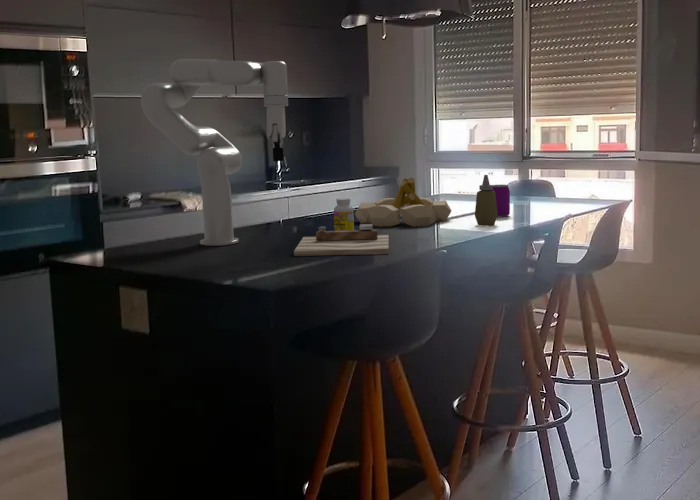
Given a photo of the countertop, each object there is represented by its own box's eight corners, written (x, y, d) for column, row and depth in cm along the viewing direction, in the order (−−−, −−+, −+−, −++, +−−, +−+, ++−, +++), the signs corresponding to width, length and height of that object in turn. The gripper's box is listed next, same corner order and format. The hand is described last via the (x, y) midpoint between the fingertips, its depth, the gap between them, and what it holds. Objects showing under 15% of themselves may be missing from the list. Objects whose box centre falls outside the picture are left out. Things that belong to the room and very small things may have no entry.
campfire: (421, 230, 292) (420, 182, 289) (341, 225, 310) (339, 180, 308) (464, 218, 321) (463, 174, 318) (388, 214, 339) (387, 172, 336)
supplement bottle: (330, 236, 281) (329, 199, 279) (343, 234, 286) (342, 197, 284) (344, 238, 277) (343, 200, 275) (358, 235, 282) (357, 198, 279)
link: (315, 240, 262) (315, 232, 261) (316, 238, 266) (316, 231, 265) (377, 239, 261) (377, 231, 261) (377, 237, 265) (377, 229, 265)
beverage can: (487, 217, 319) (487, 186, 317) (492, 214, 326) (492, 184, 324) (507, 217, 316) (507, 186, 314) (511, 215, 323) (511, 184, 321)
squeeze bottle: (487, 227, 292) (487, 176, 289) (470, 225, 298) (469, 175, 295) (502, 224, 297) (502, 174, 294) (484, 223, 303) (484, 173, 300)
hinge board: (303, 241, 273) (302, 223, 272) (388, 239, 272) (388, 221, 271) (294, 256, 246) (293, 236, 245) (388, 253, 244) (388, 233, 243)
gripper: (267, 102, 266) (270, 159, 269) (260, 101, 251) (263, 162, 254) (290, 101, 265) (293, 159, 268) (285, 101, 251) (287, 162, 254)
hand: (278, 160), depth 261 cm, fingers closed
